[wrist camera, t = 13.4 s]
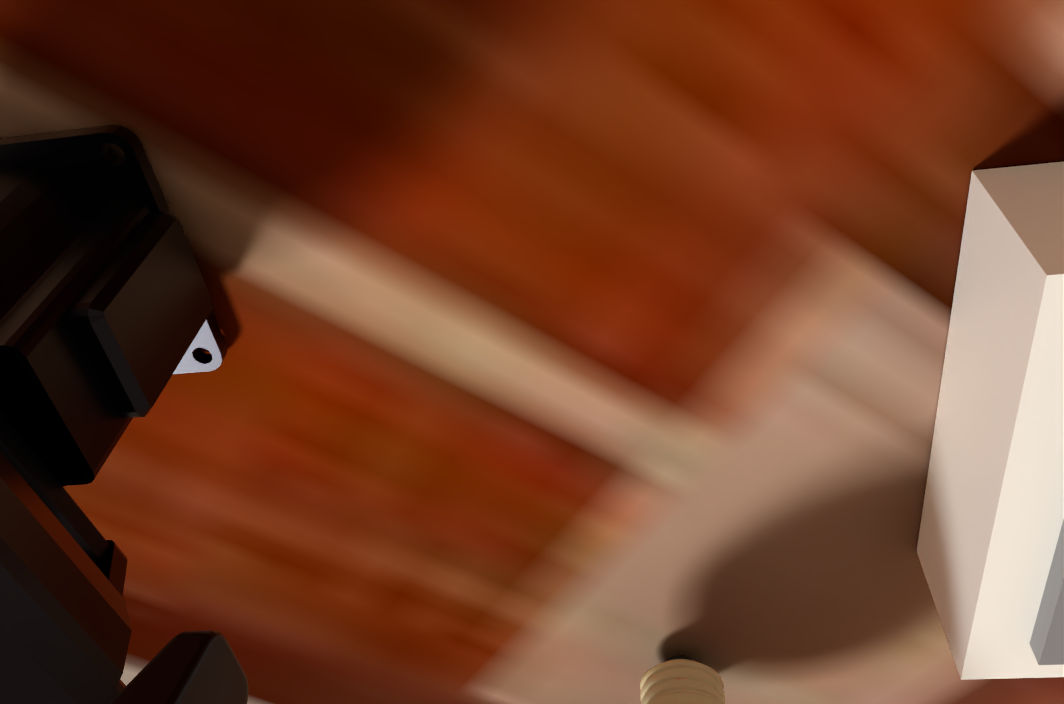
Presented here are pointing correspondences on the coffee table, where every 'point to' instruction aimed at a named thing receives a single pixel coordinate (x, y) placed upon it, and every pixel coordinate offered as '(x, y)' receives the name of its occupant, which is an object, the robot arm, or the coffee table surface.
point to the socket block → (1002, 434)
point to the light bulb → (682, 683)
